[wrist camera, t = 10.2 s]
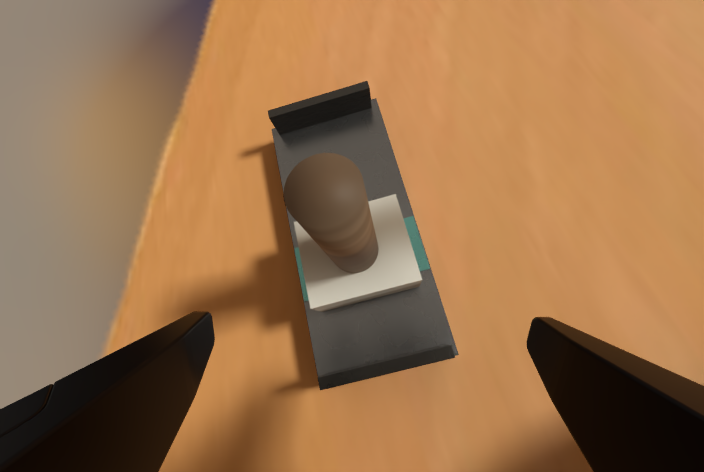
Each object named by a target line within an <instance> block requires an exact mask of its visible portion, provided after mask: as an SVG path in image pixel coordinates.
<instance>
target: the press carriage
mask: <svg viewBox="0 0 704 472" xmlns="http://www.w3.org/2000/svg"><path fill="white" fill-rule="evenodd" d="M284 201H285V205H286V207H287V210H288V211H289V213H290V214H291V215H292V217H293V218H294V219H295V220H296V222H294V226H295V231H296V236H297V241H298V246H299V252H300V257H301V262H302V267H303V273H304V278H305V283H306V288H307V293H308V299H309V304H310V309H313V310H316V311H320V312H323V311H327V310H331V309H335V308H339V307H342V306H346V305H350V304H354V303H358V302H362V301H366V300H370V299H373V298H377V297H381V296H385V295H389V294H393V293H397V292H401V291H404V290H408V289H412V288H416V287H419V286H420V284H421V282H422V277H421V274H420V271H419V268H418V264H417V261H416V258H415V255H414V251H413V248H412V245H411V242H410V239H409V235H408V232H407V229H406V226H405V222H404V219H403V216H402V213H401V209H400V206H399V203H398V200H397V197H396V194H394V195H390V196H387V197H383V198H379V199H376V200H372V201H368V199H367V194H366V190H365V186H364V181H363V177H362V175H361V172H360V170H359V169H358V167H357V166H356V165H355V164H354V163H353V162H352V161H351V160H349V159H348V158H346V157H344V156H342V155H339V154H335V153H320V154H315V155H312V156H310V157H308V158H306V159H304V160H302V161H301V162H300V163H298V164H297V165H296V166H295V167H294V168H293V170H292V171H291V172H290V174H289V175H288V177H287V180H286V182H285V186H284Z"/></svg>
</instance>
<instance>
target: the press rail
mask: <svg viewBox="0 0 704 472" xmlns="http://www.w3.org/2000/svg"><path fill="white" fill-rule="evenodd" d="M268 114H269V118H270V120H271V122H272V123H273V125H274V127H275V128H274V129H272V134H273V139H274V144H275V150H276V155H277V160H278V166H279V171H280V176H281V182H282V187H283V193H284V186H285V182H286V180H287V177H288V175H289V174H290V172H291V171H292V170H293V168H294V167H295V166H296V165H297V164H298V163H300V162H301V161H302V160H304V159H306V158H308V157H310V156H312V155H315V154H320V153H335V154H339V155H342V156H344V157H346V158H348V159H349V160H351V161H352V162H353V163H354V164H355V165H356V166H357V167H358V169H359V170H360V172H361V175H362V177H363V181H364V186H365V190H366V194H367V199H368V201H372V200H376V199H379V198H383V197H387V196H390V195H394V194H396V197H397V200H398V203H399V206H400V209H401V213H402V216H403V219H404V222H405V226H406V229H407V232H408V235H409V239H410V242H411V245H412V248H413V251H414V255H415V258H416V261H417V264H418V268H419V271H420V274H421V277H422V282H421V284H420V286H419V287H416V288H412V289H408V290H404V291H401V292H397V293H393V294H389V295H385V296H381V297H377V298H373V299H370V300H366V301H362V302H358V303H354V304H350V305H346V306H342V307H339V308H335V309H331V310H327V311H323V312H320V311H316V310H313V309H310V304H309V299H308V293H307V288H306V283H305V278H304V273H303V267H302V262H301V257H300V252H299V246H298V241H297V236H296V231H295V226H294V222H296V220H295V219H294V218H293V217H292V215H291V214H290V213H289V211H288V210H287V214H288V219H289V225H290V230H291V235H292V241H293V246H294V251H295V257H296V262H297V267H298V273H299V278H300V283H301V289H302V294H303V299H304V305H305V310H306V316H307V321H308V326H309V332H310V337H311V342H312V348H313V353H314V358H315V364H316V369H317V374H318V382H319V387H320V390H323V389H328V388H332V387H336V386H340V385H344V384H348V383H352V382H356V381H360V380H364V379H369V378H373V377H377V376H381V375H385V374H389V373H393V372H397V371H401V370H406V369H410V368H414V367H418V366H422V365H426V364H430V363H434V362H438V361H443V360H447V359H451V358H455V355H459V354H458V351H457V348H456V345H455V342H454V339H453V336H452V333H451V330H450V326H449V323H448V320H447V317H446V314H445V311H444V308H443V305H442V302H441V299H440V295H439V292H438V289H437V286H436V283H435V280H434V277H433V274H432V271H431V268H430V264H429V261H428V258H427V255H426V252H425V249H424V246H423V243H422V240H421V236H420V233H419V230H418V227H417V224H416V221H415V218H414V215H413V212H412V209H411V205H410V202H409V199H408V196H407V193H406V190H405V187H404V184H403V181H402V177H401V174H400V171H399V168H398V165H397V162H396V159H395V156H394V153H393V150H392V146H391V143H390V140H389V137H388V134H387V131H386V128H385V125H384V122H383V118H382V115H381V112H380V109H379V106H378V103H377V100H376V98H375V99H372V100H371V97H370V89H369V85H368V82H367V81H365V82H362V83H359V84H355V85H352V86H349V87H345V88H342V89H339V90H335V91H332V92H329V93H325V94H322V95H319V96H315V97H312V98H309V99H305V100H302V101H299V102H295V103H292V104H289V105H285V106H282V107H279V108H275V109H272V110H269V111H268ZM286 209H287V207H286Z"/></svg>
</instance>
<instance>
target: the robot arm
mask: <svg viewBox="0 0 704 472" xmlns="http://www.w3.org/2000/svg"><path fill="white" fill-rule="evenodd" d="M214 340H215V337H214V329H213V321H212V316H211V313H209V312H204V311H195V312H192V313H190V314H188V315H186V316H184V317H182V318H180V319H178V320H177V321H175V322H173V323H171V324H169V325H167V326H165V327H163V328H161V329H159V330H157V331H155V332H153V333H151V334H149V335H147V336H145V337H143V338H141V339H139V340H137V341H135V342H133V343H131V344H129V345H127V346H125V347H123V348H121V349H119V350H117V351H115V352H113V353H111V354H109V355H107V356H105V357H103V358H102V359H100V360H98V361H96V362H94V363H92V364H90V365H88V366H86V367H84V368H82V369H80V370H78V371H76V372H74V373H72V374H70V375H68V376H66V377H64V378H62V379H60V380H58V381H56V382H55V383H54V385H53V384H50V385H48V386H46V387H44V388H42V389H40V390H38V391H36V392H34V393H33V394H31V395H28V396H26V397H24V398H22V399H20V400H18V401H16V402H14V403H12V404H10V405H8V406H6V407H4V408H2V409H0V472H159V470H160V467H161V465H162V463H163V461H164V459H165V457H166V455H167V453H168V451H169V449H170V447H171V445H172V443H173V441H174V439H175V437H176V435H177V433H178V431H179V429H180V427H181V425H182V423H183V421H184V418H185V416H186V414H187V412H188V410H189V408H190V406H191V404H192V402H193V400H194V398H195V395H196V392H197V390H198V387H199V385H200V382H201V379H202V376H203V373H204V371H205V368H206V365H207V362H208V360H209V357H210V354H211V351H212V349H213V346H214ZM527 349H528V352H529V354H530V356H531V358H532V360H533V362H534V364H535V367H536V369H537V371H538V373H539V375H540V377H541V379H542V381H543V384H544V386H545V388H546V390H547V392H548V394H549V396H550V398H551V400H552V402H553V404H554V406H555V407H556V409H557V411H558V413H559V414H560V416H561V418H562V419H563V421H564V423H565V424H566V426H567V428H568V429H569V431H570V433H571V435H572V436H573V438H574V440H575V441H576V443H577V445H578V446H579V448H580V450H581V451H582V453H583V455H584V457H585V458H586V460H587V462H588V463H589V465H590V467H591V468H592V470H593V472H704V386H702V385H700V384H698V383H696V382H693V381H691V380H689V379H687V378H685V377H682V376H680V375H678V374H676V373H673V372H671V371H669V370H667V369H664V368H662V367H660V366H658V365H655V364H653V363H651V362H649V361H647V360H644V359H642V358H640V357H638V356H635V355H633V354H631V353H629V352H626V351H624V350H622V349H620V348H618V347H615V346H613V345H611V344H609V343H606V342H604V341H602V340H600V339H597V338H595V337H593V336H591V335H589V334H586V333H584V332H582V331H580V330H577V329H575V328H573V327H571V326H568V325H566V324H564V323H562V322H560V321H557V320H555V319H553V318H550V317H535V318H534V319H533V320H532V323H531V327H530V330H529V334H528V338H527Z"/></svg>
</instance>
